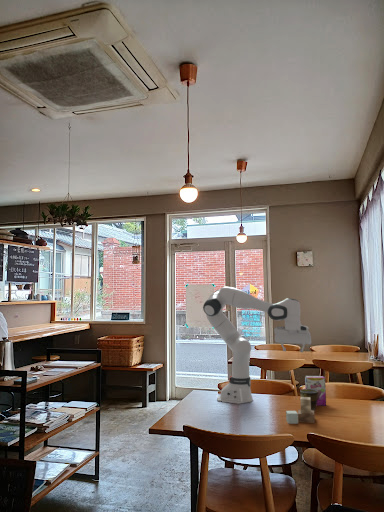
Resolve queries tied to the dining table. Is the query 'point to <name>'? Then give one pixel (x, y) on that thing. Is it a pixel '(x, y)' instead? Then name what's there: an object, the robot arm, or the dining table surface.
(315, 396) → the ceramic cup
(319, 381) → the candy bar box
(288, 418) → the grey green block
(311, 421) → the walnut pedestal
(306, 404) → the oak block
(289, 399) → the dining table surface
